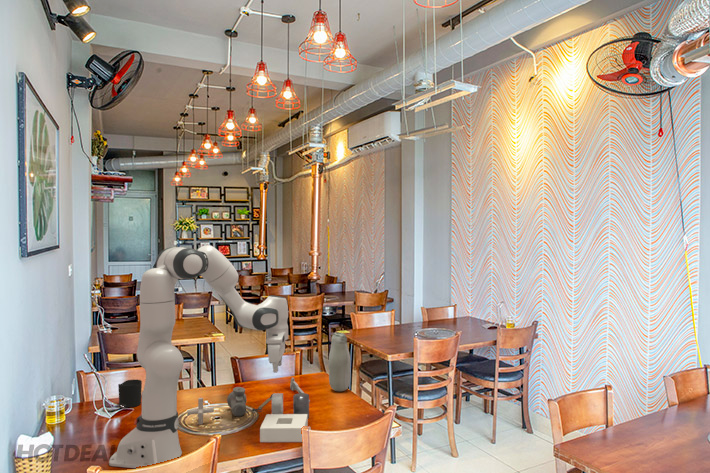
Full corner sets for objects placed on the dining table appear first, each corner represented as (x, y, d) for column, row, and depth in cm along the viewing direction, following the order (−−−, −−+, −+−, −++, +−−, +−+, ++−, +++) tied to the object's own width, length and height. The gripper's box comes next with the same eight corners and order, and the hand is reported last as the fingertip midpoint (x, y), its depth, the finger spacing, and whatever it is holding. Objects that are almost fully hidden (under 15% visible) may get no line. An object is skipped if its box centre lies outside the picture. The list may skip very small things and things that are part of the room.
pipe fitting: (226, 407, 210) (228, 384, 209) (245, 407, 212) (247, 384, 212) (227, 420, 199) (230, 396, 198) (247, 419, 201) (250, 396, 200)
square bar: (271, 421, 195) (271, 396, 195) (273, 417, 199) (273, 393, 199) (281, 421, 195) (281, 396, 195) (283, 417, 199) (283, 393, 199)
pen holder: (116, 404, 216) (116, 381, 216) (138, 400, 221) (138, 378, 221) (120, 410, 208) (120, 387, 208) (144, 405, 214) (144, 383, 214)
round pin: (292, 420, 196) (292, 398, 196) (294, 414, 203) (294, 393, 203) (308, 420, 196) (308, 398, 196) (309, 414, 203) (309, 393, 203)
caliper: (290, 390, 236) (290, 377, 236) (292, 389, 237) (292, 376, 237) (308, 402, 218) (308, 388, 218) (310, 402, 219) (310, 388, 219)
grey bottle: (353, 389, 236) (353, 332, 236) (342, 395, 227) (342, 335, 227) (336, 386, 241) (336, 330, 241) (325, 391, 232) (324, 333, 233)
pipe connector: (186, 429, 187) (186, 403, 187) (188, 420, 197) (188, 395, 197) (213, 426, 190) (213, 401, 190) (213, 417, 199) (213, 393, 199)
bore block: (260, 442, 175) (260, 428, 175) (266, 427, 189) (266, 414, 189) (304, 441, 176) (304, 428, 176) (307, 426, 190) (307, 414, 190)
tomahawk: (266, 415, 205) (266, 412, 205) (251, 412, 207) (251, 409, 207) (285, 397, 226) (285, 395, 226) (271, 395, 228) (272, 392, 228)
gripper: (273, 330, 208) (273, 362, 208) (265, 340, 187) (265, 376, 187) (288, 329, 208) (288, 362, 208) (281, 340, 187) (281, 375, 187)
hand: (277, 368), depth 197 cm, fingers open, 8 cm apart
